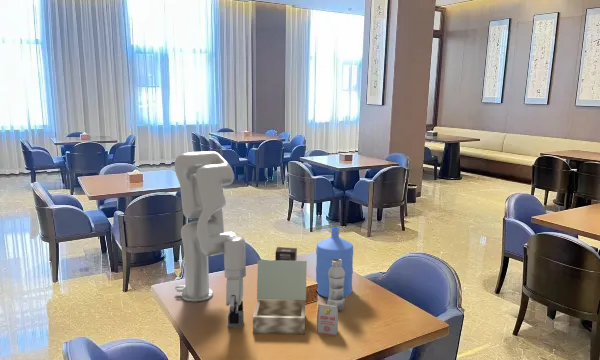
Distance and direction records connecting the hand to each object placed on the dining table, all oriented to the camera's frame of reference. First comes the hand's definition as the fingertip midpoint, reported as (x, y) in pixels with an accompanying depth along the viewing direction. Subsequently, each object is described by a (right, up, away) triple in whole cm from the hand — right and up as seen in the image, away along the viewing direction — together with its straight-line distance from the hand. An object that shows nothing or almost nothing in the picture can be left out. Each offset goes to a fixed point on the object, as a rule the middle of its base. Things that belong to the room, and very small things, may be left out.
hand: (236, 317), depth 163 cm
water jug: (+37, +1, +31) cm, 48 cm away
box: (+16, -3, +2) cm, 16 cm away
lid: (+16, +11, +9) cm, 22 cm away
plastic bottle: (+37, -1, +14) cm, 40 cm away
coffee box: (+17, +3, +38) cm, 42 cm away
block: (0, -3, +1) cm, 3 cm away
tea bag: (+32, -4, -4) cm, 33 cm away
